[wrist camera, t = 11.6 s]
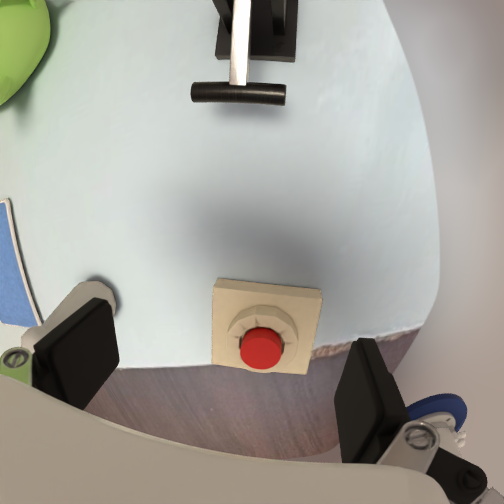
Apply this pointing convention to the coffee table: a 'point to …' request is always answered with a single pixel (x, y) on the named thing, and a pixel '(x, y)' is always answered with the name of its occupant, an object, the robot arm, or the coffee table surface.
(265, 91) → the lever
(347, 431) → the robot arm
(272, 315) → the control box
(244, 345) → the stop button
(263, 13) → the switch bracket
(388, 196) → the coffee table surface
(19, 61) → the teapot
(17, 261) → the tablet
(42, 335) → the salt shaker
